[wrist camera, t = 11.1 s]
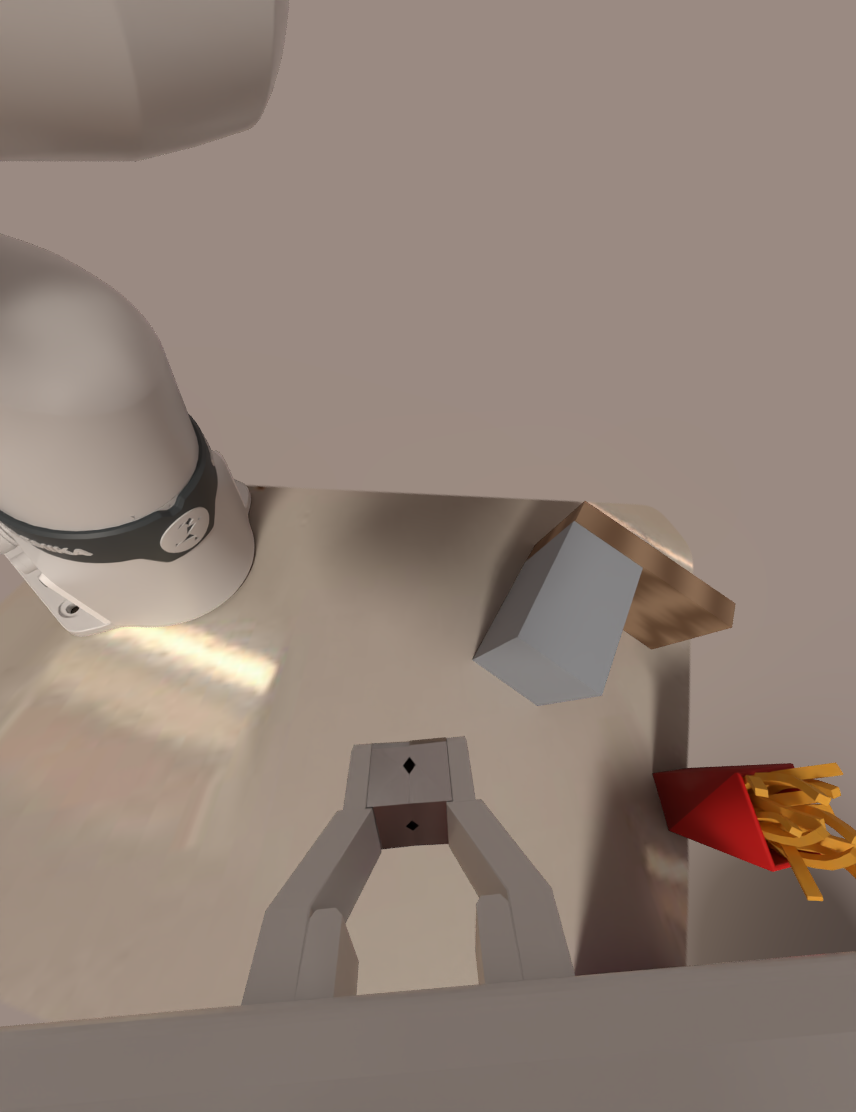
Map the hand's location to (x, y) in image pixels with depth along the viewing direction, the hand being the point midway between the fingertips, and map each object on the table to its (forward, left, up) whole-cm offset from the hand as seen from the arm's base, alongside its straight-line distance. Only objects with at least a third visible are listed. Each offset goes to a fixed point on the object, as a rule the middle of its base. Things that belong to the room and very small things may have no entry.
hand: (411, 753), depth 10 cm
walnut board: (+15, +29, -26) cm, 41 cm away
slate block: (+10, +20, -26) cm, 34 cm away
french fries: (+31, +13, -26) cm, 42 cm away
